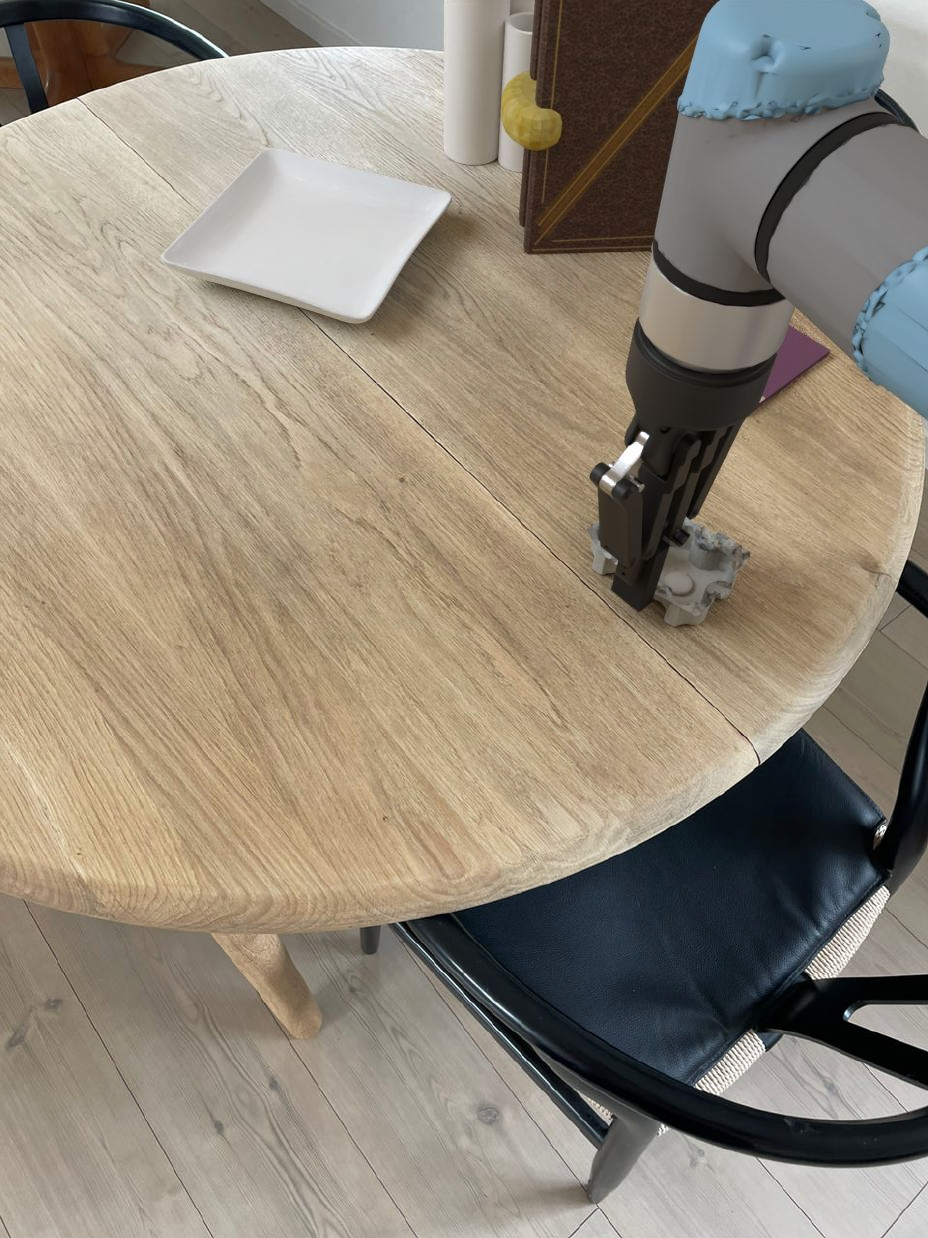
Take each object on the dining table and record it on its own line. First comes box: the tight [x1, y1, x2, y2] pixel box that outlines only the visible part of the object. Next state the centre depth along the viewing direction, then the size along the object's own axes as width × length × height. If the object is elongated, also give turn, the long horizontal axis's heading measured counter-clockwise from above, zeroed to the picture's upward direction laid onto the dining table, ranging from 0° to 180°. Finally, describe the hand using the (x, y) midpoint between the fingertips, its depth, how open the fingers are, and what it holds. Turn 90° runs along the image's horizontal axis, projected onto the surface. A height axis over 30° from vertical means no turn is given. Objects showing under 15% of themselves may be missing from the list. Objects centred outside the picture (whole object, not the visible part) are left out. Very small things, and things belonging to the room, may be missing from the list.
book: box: [501, 0, 720, 255], centre depth 88 cm, size 22×8×25 cm, turn 94°
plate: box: [160, 147, 453, 325], centre depth 93 cm, size 21×21×3 cm
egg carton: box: [586, 517, 751, 627], centre depth 72 cm, size 11×8×4 cm
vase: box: [443, 0, 535, 173], centre depth 98 cm, size 11×7×20 cm, turn 78°
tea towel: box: [754, 324, 831, 411], centre depth 88 cm, size 12×12×1 cm
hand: (631, 595), depth 70 cm, fingers closed
